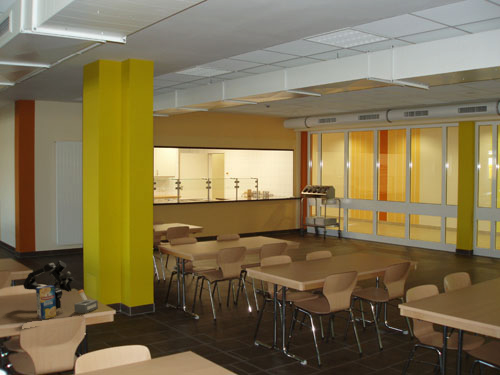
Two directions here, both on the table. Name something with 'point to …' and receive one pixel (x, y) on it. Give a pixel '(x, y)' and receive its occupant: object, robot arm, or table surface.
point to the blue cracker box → (46, 302)
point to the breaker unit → (86, 306)
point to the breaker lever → (82, 295)
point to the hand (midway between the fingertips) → (70, 291)
